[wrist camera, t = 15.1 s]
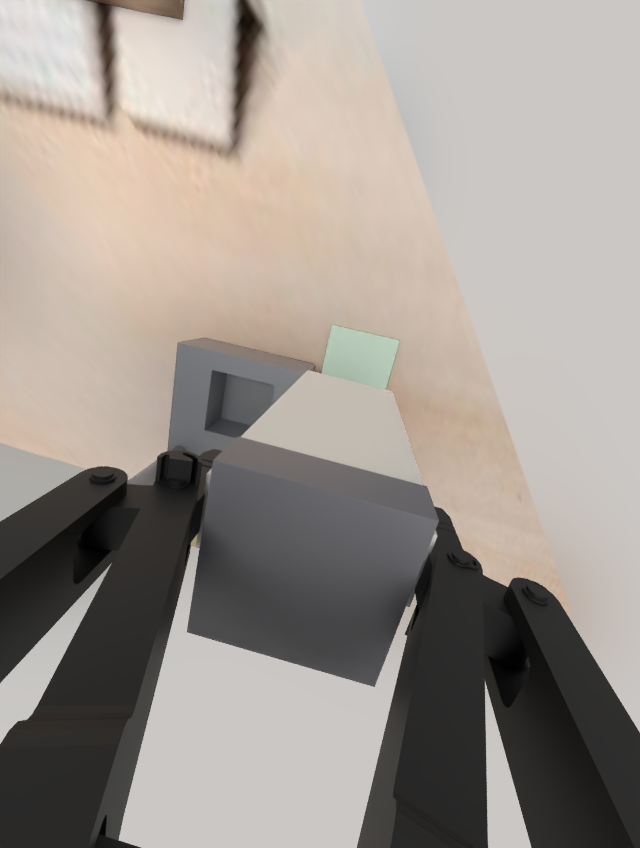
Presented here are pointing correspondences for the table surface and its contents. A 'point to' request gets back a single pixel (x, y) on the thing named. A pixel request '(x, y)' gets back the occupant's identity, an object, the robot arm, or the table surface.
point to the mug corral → (151, 6)
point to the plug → (314, 531)
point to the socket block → (221, 395)
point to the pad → (359, 356)
